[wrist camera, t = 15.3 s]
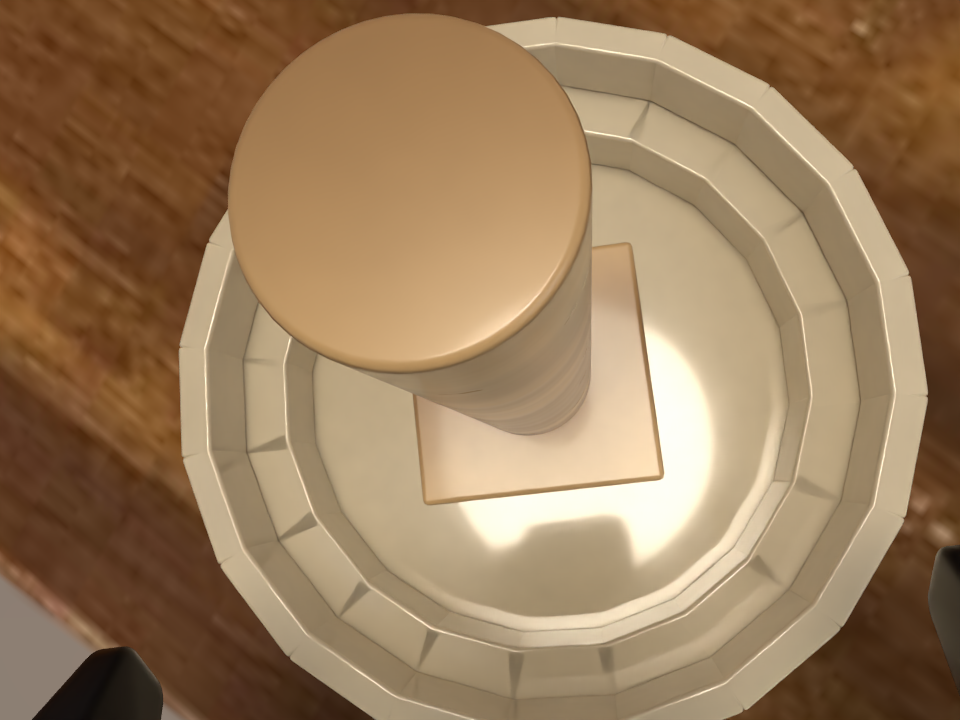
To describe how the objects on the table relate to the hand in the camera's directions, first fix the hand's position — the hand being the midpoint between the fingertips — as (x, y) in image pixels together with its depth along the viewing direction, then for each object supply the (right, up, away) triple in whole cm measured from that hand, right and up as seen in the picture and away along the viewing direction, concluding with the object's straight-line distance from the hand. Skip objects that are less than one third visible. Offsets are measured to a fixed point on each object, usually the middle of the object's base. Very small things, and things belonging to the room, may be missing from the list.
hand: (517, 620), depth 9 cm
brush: (+1, +2, +9) cm, 9 cm away
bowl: (+1, +2, +10) cm, 10 cm away
